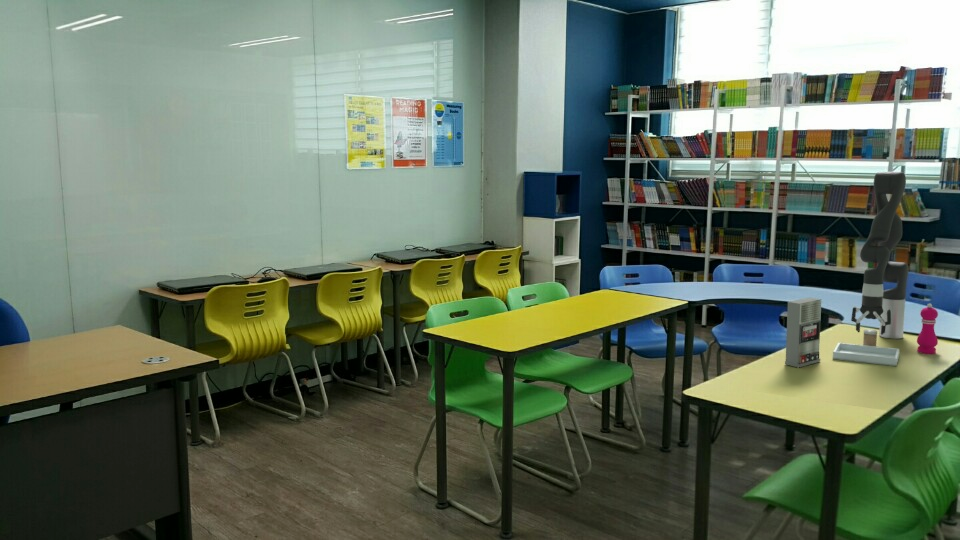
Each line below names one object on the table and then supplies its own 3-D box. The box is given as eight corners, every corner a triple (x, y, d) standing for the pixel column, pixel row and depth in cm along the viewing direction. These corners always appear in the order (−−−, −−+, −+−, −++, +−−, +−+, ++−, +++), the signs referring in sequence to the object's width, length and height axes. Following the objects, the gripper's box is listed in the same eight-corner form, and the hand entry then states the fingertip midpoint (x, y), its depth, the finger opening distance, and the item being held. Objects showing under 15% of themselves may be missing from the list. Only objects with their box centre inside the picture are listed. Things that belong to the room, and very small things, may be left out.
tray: (838, 349, 299) (838, 342, 299) (899, 356, 288) (899, 348, 287) (832, 358, 286) (833, 351, 286) (896, 366, 274) (896, 358, 274)
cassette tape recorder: (799, 368, 275) (801, 304, 271) (784, 364, 280) (787, 301, 276) (820, 362, 282) (823, 299, 279) (806, 358, 287) (809, 297, 284)
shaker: (863, 347, 302) (864, 328, 301) (876, 348, 299) (877, 330, 298) (861, 350, 298) (863, 331, 297) (875, 351, 295) (876, 332, 294)
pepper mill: (940, 354, 288) (943, 305, 285) (920, 354, 290) (923, 305, 287) (932, 349, 295) (936, 302, 292) (913, 349, 297) (916, 301, 294)
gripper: (893, 294, 294) (890, 333, 296) (854, 291, 302) (851, 329, 304) (891, 297, 288) (889, 336, 290) (852, 294, 296) (849, 333, 298)
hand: (870, 333), depth 297 cm, fingers open, 8 cm apart
